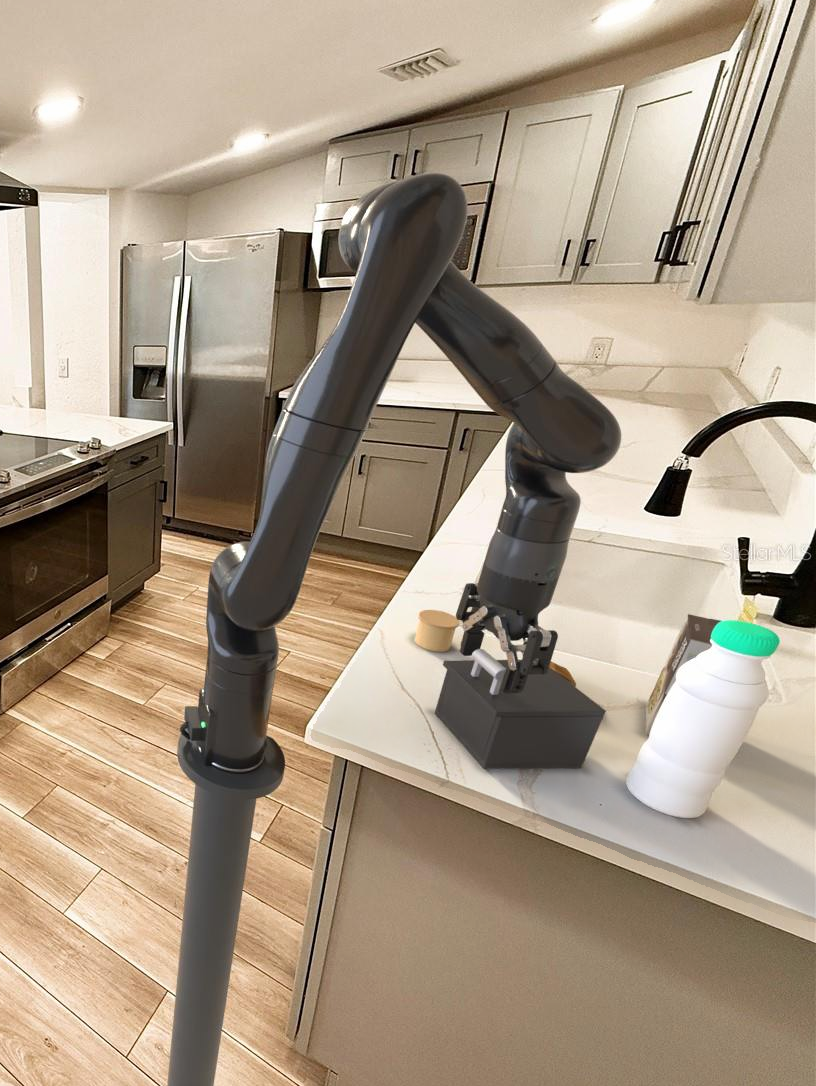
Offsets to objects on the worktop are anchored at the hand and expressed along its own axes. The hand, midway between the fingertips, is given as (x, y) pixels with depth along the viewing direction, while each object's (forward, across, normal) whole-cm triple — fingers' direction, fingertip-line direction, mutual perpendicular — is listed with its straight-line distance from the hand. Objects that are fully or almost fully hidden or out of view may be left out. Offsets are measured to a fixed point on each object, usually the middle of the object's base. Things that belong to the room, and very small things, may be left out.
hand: (488, 672), depth 83 cm
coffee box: (+12, -2, +30) cm, 32 cm away
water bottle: (+12, +11, +17) cm, 24 cm away
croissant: (+12, -11, +18) cm, 25 cm away
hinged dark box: (+12, 0, +5) cm, 13 cm away
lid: (+3, 0, +5) cm, 5 cm away
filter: (+12, -25, +9) cm, 29 cm away
